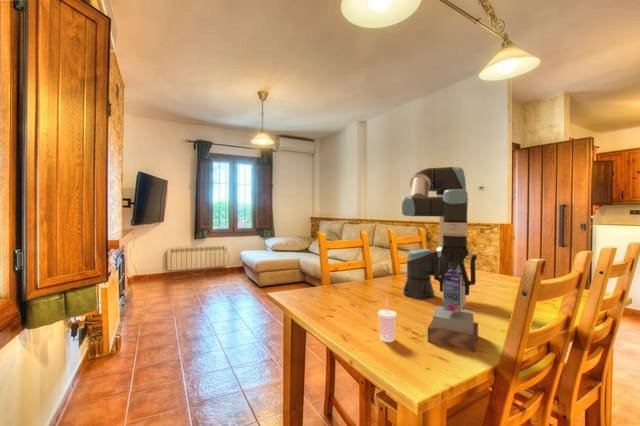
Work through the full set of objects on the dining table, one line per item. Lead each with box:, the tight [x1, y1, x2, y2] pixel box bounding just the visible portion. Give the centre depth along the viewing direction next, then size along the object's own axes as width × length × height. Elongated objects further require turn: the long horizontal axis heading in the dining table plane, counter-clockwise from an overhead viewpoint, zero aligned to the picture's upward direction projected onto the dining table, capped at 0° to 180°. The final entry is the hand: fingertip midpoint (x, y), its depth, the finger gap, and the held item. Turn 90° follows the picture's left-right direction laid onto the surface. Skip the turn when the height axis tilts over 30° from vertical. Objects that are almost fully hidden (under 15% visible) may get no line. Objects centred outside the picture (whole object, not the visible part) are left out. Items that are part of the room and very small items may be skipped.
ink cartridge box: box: [443, 265, 465, 313], centre depth 101 cm, size 10×6×14 cm, turn 147°
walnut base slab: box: [427, 319, 479, 353], centre depth 101 cm, size 14×14×5 cm
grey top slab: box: [432, 305, 475, 335], centre depth 101 cm, size 12×12×4 cm
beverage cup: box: [377, 297, 397, 343], centre depth 100 cm, size 6×6×14 cm
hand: (454, 302), depth 101 cm, fingers closed on ink cartridge box, 5 cm apart
